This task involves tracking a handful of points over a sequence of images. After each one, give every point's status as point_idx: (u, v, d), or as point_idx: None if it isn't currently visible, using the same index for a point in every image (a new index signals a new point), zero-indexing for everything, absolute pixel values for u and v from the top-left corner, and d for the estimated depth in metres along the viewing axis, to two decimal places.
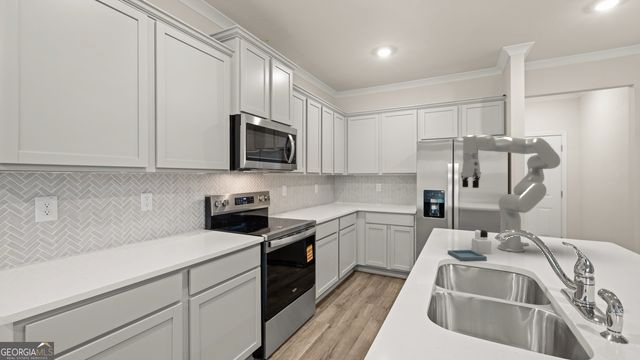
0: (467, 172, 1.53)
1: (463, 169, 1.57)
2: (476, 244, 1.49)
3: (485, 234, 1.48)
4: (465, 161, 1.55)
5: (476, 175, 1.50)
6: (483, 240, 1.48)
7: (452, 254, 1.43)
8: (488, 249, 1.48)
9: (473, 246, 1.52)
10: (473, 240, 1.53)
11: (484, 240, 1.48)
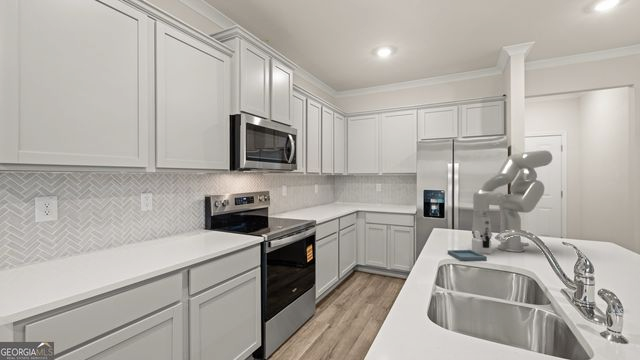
0: (478, 230, 1.50)
1: (473, 225, 1.54)
2: (476, 244, 1.49)
3: (485, 234, 1.48)
4: (476, 218, 1.52)
5: (487, 234, 1.47)
6: None
7: (452, 254, 1.43)
8: (488, 249, 1.48)
9: (473, 246, 1.52)
10: (473, 240, 1.53)
11: None
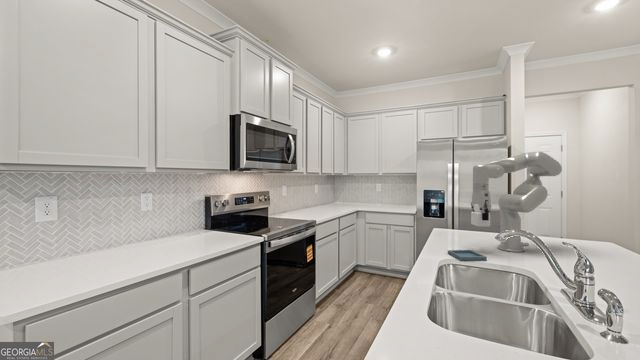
0: (477, 203, 1.50)
1: (473, 199, 1.54)
2: (475, 217, 1.49)
3: None
4: (475, 191, 1.51)
5: (486, 207, 1.47)
6: None
7: (452, 254, 1.43)
8: (487, 221, 1.47)
9: (473, 220, 1.52)
10: (472, 214, 1.52)
11: None
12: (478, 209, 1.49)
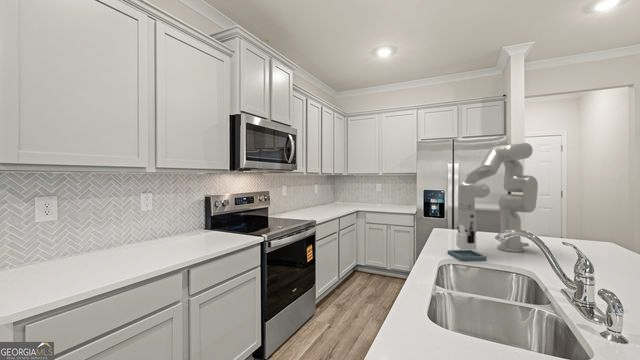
0: (462, 224, 1.40)
1: (458, 219, 1.44)
2: (460, 239, 1.40)
3: (470, 228, 1.39)
4: (460, 211, 1.42)
5: (472, 229, 1.37)
6: None
7: (452, 254, 1.43)
8: (473, 244, 1.38)
9: (458, 241, 1.43)
10: (458, 235, 1.43)
11: None
12: (463, 231, 1.39)
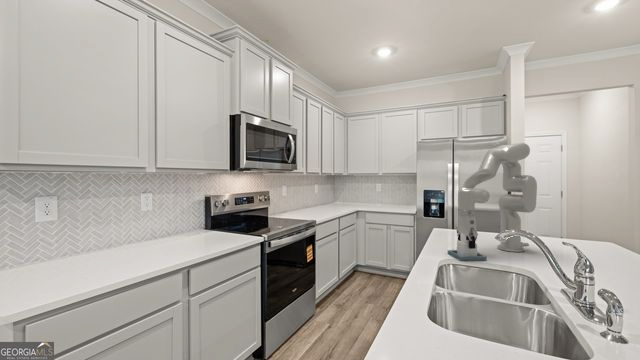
0: (463, 230, 1.40)
1: (458, 225, 1.44)
2: (461, 247, 1.40)
3: (471, 237, 1.39)
4: (460, 217, 1.42)
5: (472, 234, 1.37)
6: None
7: (452, 254, 1.43)
8: (474, 252, 1.38)
9: (459, 250, 1.43)
10: (458, 243, 1.43)
11: None
12: (464, 239, 1.40)
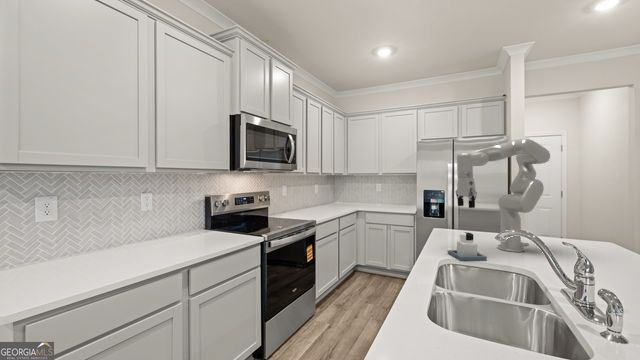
0: (462, 191, 1.49)
1: (458, 188, 1.53)
2: (461, 248, 1.40)
3: (471, 237, 1.39)
4: (460, 180, 1.50)
5: (472, 194, 1.46)
6: (469, 243, 1.38)
7: (452, 254, 1.43)
8: (474, 252, 1.38)
9: (458, 250, 1.43)
10: (458, 243, 1.43)
11: (470, 243, 1.38)
12: (464, 239, 1.40)
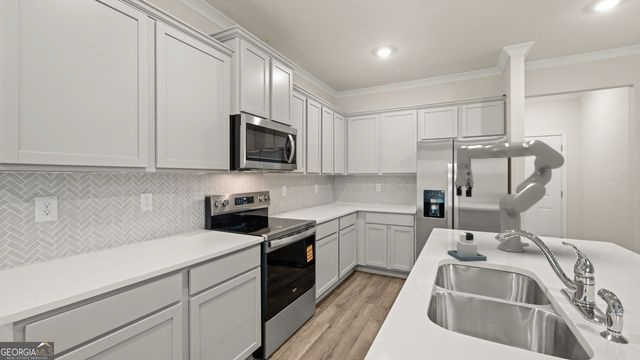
0: (460, 181, 1.60)
1: (457, 178, 1.64)
2: (461, 248, 1.40)
3: (471, 237, 1.39)
4: (459, 171, 1.61)
5: (469, 184, 1.56)
6: (469, 243, 1.38)
7: (452, 254, 1.43)
8: (474, 252, 1.38)
9: (458, 250, 1.43)
10: (458, 243, 1.43)
11: (470, 243, 1.38)
12: (464, 239, 1.40)
